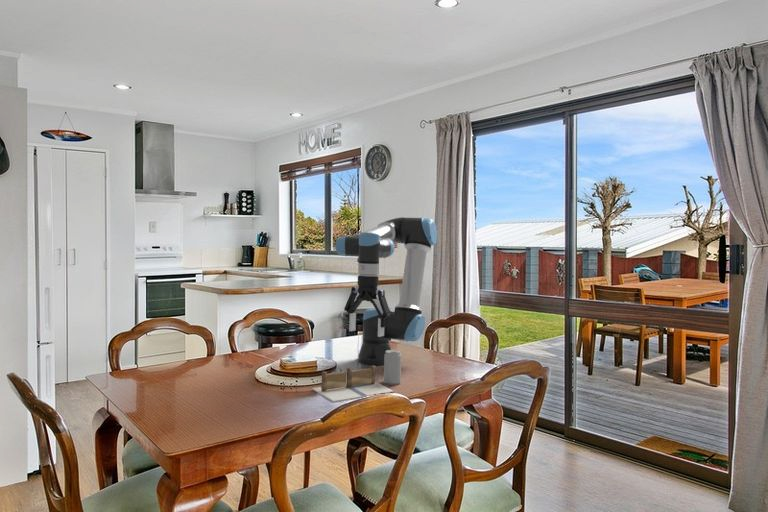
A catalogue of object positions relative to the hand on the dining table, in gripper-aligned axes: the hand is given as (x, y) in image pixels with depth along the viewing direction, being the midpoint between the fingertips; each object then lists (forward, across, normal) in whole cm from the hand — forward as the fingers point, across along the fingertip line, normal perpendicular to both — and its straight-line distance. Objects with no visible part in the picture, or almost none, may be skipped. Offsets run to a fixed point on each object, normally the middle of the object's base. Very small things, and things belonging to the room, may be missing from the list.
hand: (366, 333), depth 196 cm
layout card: (+20, 0, -6) cm, 21 cm away
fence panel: (+19, -5, -11) cm, 22 cm away
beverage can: (+20, +4, +11) cm, 23 cm away
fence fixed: (+20, -1, -1) cm, 20 cm away
